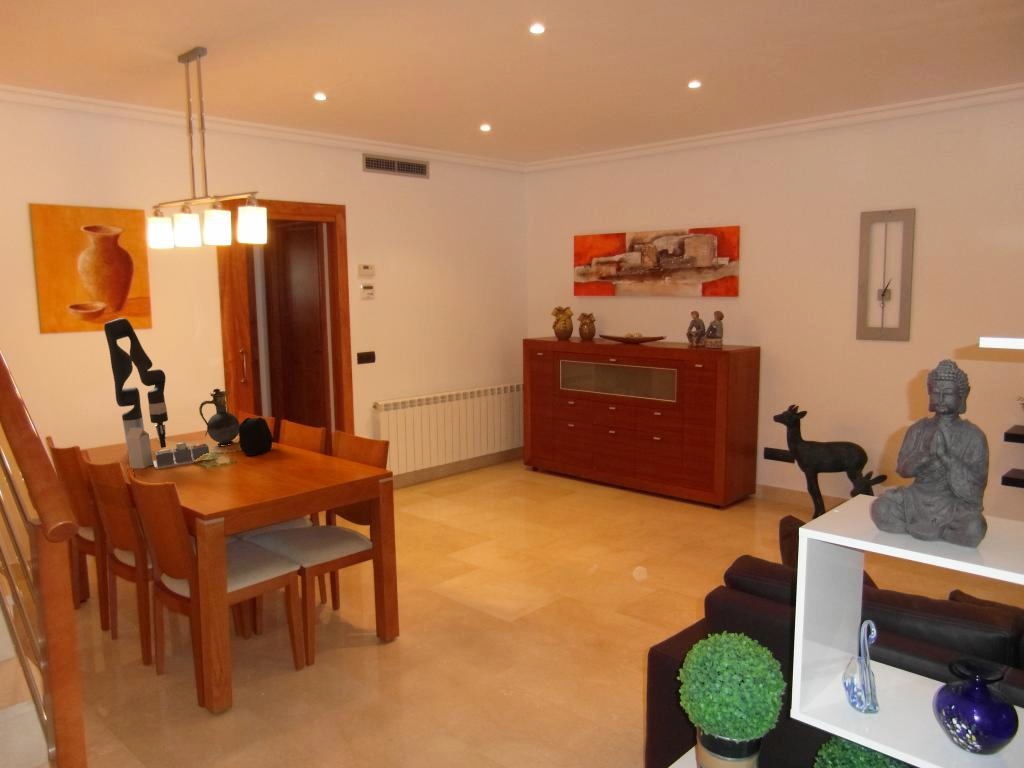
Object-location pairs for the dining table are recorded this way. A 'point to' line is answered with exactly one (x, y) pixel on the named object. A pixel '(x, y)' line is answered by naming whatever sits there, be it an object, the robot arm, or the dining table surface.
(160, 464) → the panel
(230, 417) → the pitcher
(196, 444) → the brown egg
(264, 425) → the black rounded dome
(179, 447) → the pale green egg
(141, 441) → the milk carton
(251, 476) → the dining table surface
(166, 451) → the cream white egg
